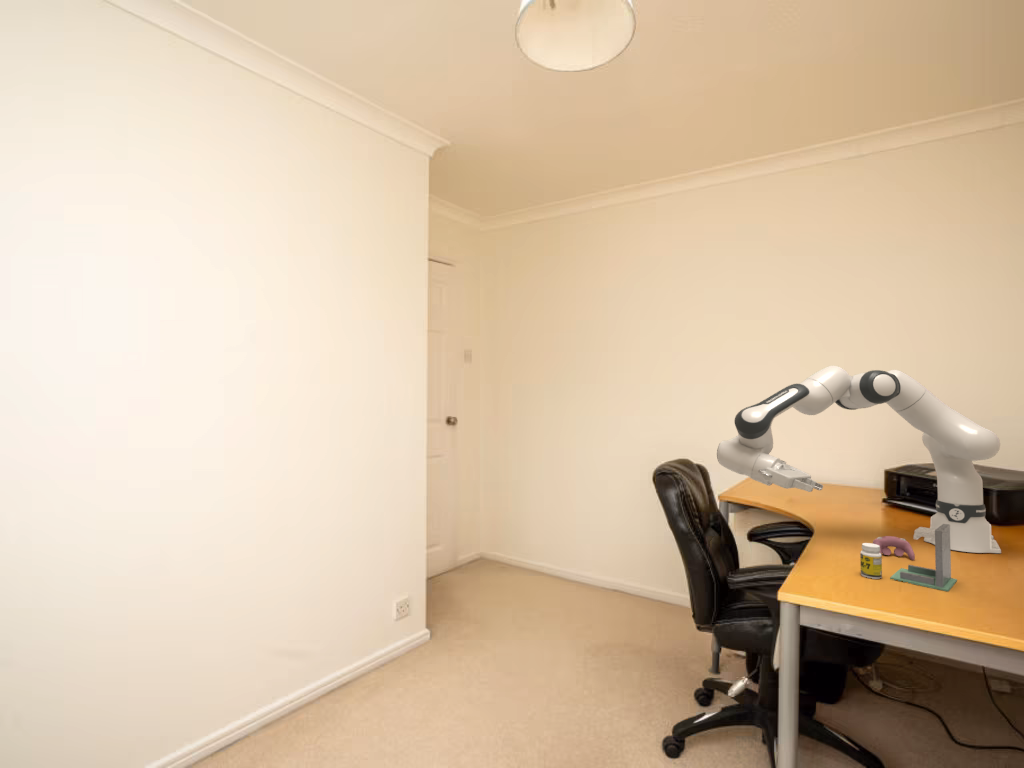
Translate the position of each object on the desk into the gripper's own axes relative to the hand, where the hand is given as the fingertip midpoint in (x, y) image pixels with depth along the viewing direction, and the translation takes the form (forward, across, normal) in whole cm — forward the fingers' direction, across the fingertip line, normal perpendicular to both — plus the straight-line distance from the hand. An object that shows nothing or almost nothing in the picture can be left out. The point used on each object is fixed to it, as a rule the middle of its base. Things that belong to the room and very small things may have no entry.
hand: (817, 488), depth 152 cm
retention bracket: (+28, +8, +14) cm, 32 cm away
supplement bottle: (+18, +2, +18) cm, 25 cm away
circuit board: (+28, +8, +14) cm, 32 cm away
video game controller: (+19, +27, +15) cm, 36 cm away
